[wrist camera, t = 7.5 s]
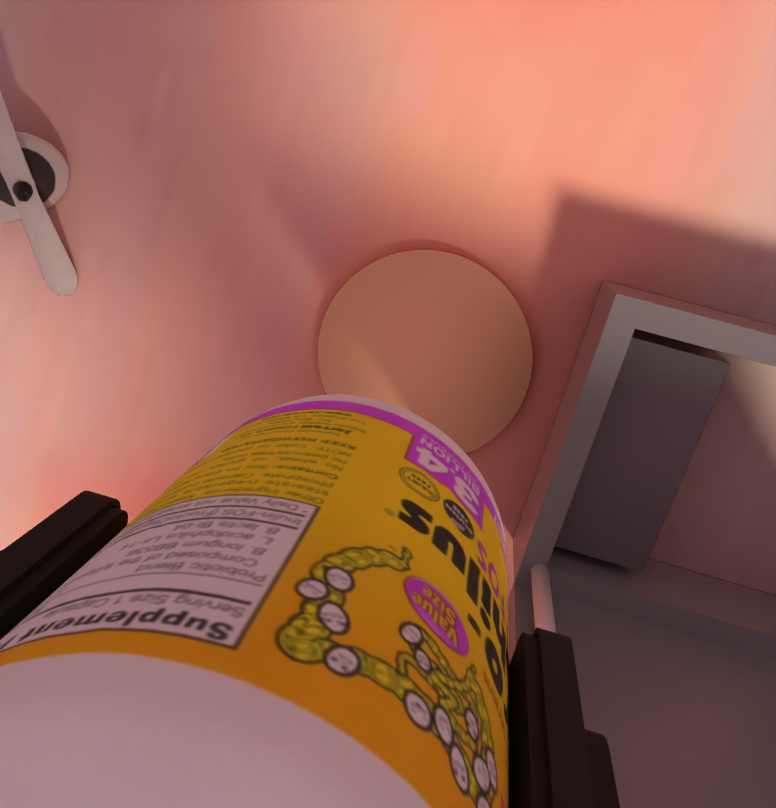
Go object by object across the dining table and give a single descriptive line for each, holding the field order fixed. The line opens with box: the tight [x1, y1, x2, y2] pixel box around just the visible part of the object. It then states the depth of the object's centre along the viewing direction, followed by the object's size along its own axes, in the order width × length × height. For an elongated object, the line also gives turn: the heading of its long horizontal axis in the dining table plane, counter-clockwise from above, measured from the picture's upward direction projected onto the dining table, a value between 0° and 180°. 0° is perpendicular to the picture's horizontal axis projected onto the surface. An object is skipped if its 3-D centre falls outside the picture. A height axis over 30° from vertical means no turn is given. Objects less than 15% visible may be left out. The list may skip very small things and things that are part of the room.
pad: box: [317, 249, 533, 454], centre depth 30 cm, size 9×9×1 cm
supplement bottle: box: [0, 394, 509, 808], centre depth 9 cm, size 7×7×13 cm
